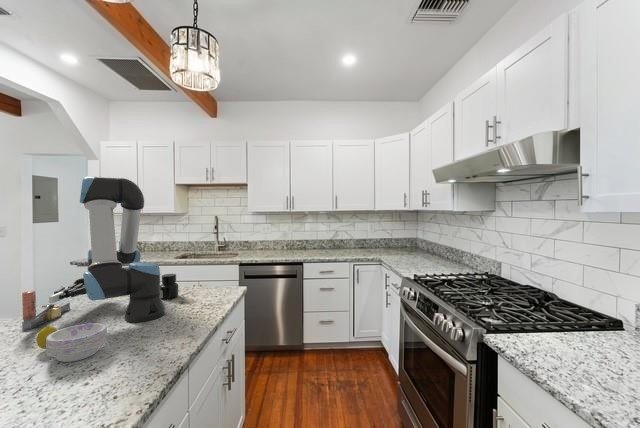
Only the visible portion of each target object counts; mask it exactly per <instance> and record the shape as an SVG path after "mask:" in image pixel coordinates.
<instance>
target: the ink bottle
mask: <svg viewBox="0 0 640 428" xmlns="http://www.w3.org/2000/svg"><path fill="white" fill-rule="evenodd" d="M176 281H177V274H176V273H165V274H162V275H161V284H160V297H161V300H162V301H163V300H164V301H167V300H168V301H169V300H175V299H177V298H178V297H179V284H178V283H177V282H176Z"/></svg>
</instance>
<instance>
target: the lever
mask: <svg viewBox="0 0 640 428" xmlns="http://www.w3.org/2000/svg"><path fill="white" fill-rule="evenodd" d="M21 294H22V295H21V297H22V301H21V302H22V320H23V321H24V323H27V322H32V321H33V320H35V319H36V318H38V317H39V316H40V315H42V314H43V313H45V312H46V311H48V310H49V309H52V308H54V306H55V303H48V304H44V305H42V306H41V308H40V309H38V310H36V308H37V307H36V305H37V301H36V300H37V299H36V291H35V290H29V291H24V292H22V293H21Z"/></svg>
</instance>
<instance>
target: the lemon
mask: <svg viewBox="0 0 640 428" xmlns="http://www.w3.org/2000/svg"><path fill="white" fill-rule="evenodd" d="M58 330H59V329H57V328H56V327H55V326H50V325H47V326H45V327H44V328H42V329H41V330H39V332H38V334H37V335H36V344H37V346H38V347H39V348H40V349H43V350H46V338H47V337H48V336H49V335H50V334H51V333H53V332H56V331H58Z"/></svg>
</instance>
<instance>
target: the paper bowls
mask: <svg viewBox="0 0 640 428" xmlns="http://www.w3.org/2000/svg"><path fill="white" fill-rule="evenodd" d="M107 328H108V326H107V325H106V324H104V323H101V322H99V323H96V322H93V323H82V324H75V325H72V326H68V327H65V328H62V329H61V328H60V329H57V330H58V331H56V332H53V333H51V334H50V335H49V336H48V337H47V338H46V349H45V351H46V355H48V356H49V357H55V359H56V361H59V362H62V363H72V362H77V361H81V360H83V359H84V360H85V359H87V358H89V357H91V356H93V355H95V354H97V352H98V351H99V349H100V347H101V346H104V344H106V343H107V340H108V329H107Z"/></svg>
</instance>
